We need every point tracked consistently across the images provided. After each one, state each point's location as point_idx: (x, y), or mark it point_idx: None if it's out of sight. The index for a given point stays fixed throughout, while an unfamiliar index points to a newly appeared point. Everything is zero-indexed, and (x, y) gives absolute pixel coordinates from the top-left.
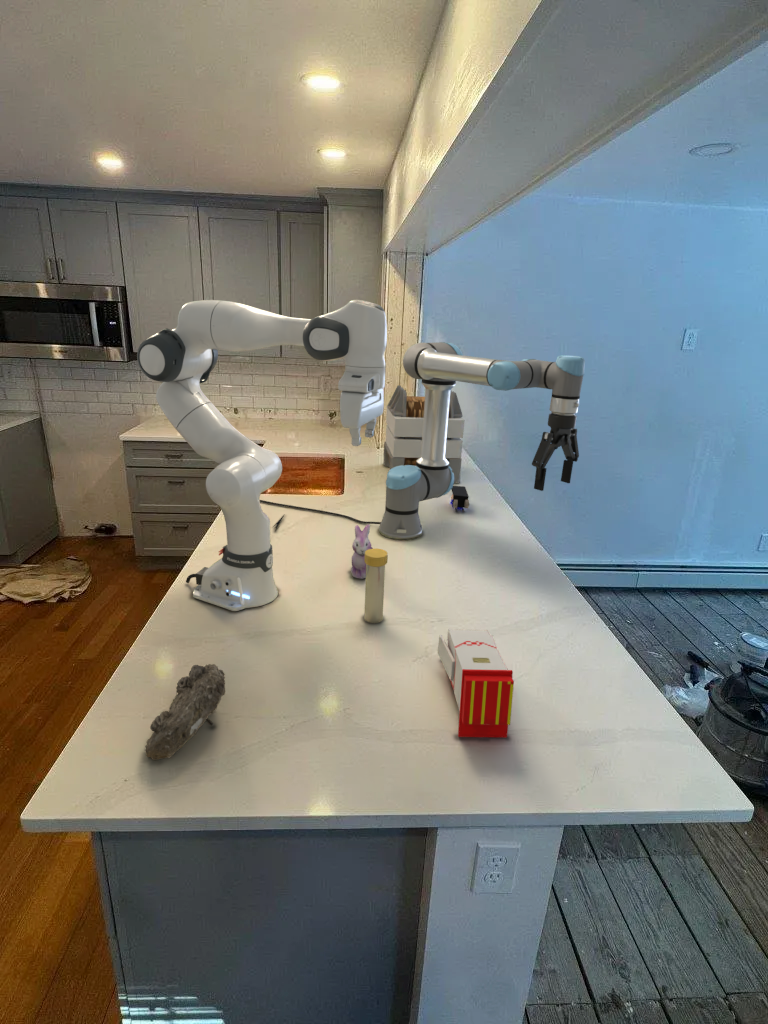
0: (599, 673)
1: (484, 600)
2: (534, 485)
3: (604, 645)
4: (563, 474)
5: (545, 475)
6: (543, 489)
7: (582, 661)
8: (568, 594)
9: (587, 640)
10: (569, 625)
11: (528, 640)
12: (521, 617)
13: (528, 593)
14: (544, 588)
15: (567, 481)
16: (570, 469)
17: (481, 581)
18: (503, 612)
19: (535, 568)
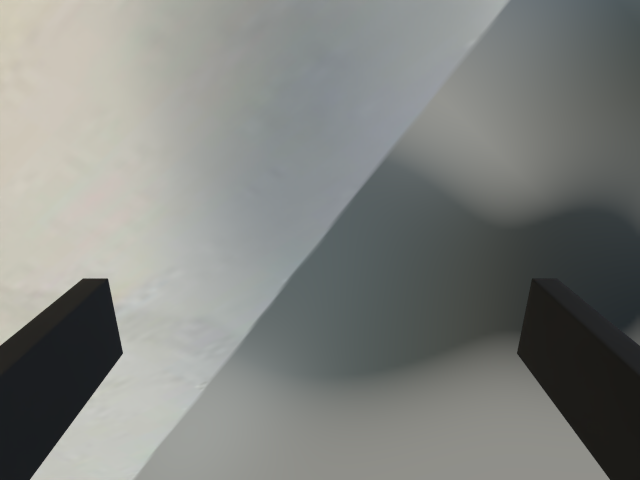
0: (62, 465)
1: (31, 177)
2: (65, 296)
3: (146, 434)
4: (570, 337)
5: (31, 475)
6: (116, 360)
7: (63, 436)
8: (270, 289)
9: (130, 410)
10: (144, 365)
11: None
12: (66, 287)
13: (178, 225)
14: (242, 233)
15: (525, 351)
16: (602, 463)
17: (102, 88)
18: (39, 248)
19: (336, 135)
